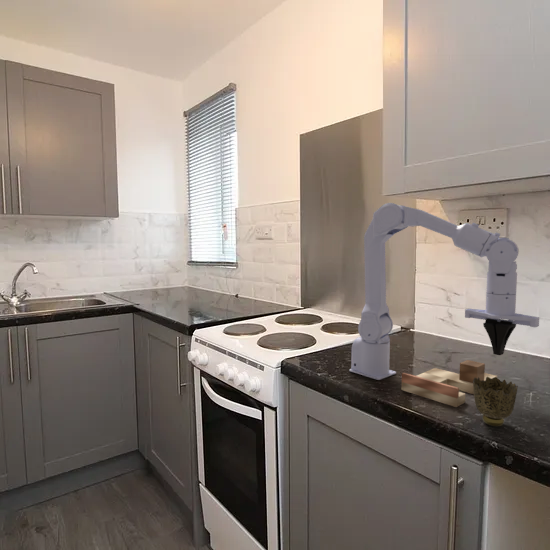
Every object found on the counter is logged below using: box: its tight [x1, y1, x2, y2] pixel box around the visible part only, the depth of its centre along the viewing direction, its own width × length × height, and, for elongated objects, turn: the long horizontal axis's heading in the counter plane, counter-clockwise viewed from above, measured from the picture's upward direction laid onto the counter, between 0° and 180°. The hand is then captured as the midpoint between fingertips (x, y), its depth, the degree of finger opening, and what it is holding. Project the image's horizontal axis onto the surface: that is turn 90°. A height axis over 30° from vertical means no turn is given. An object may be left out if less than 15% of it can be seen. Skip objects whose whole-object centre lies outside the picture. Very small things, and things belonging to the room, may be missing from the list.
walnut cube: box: [459, 359, 486, 383], centre depth 94 cm, size 4×4×4 cm
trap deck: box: [401, 367, 498, 408], centre depth 96 cm, size 13×21×4 cm, turn 130°
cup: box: [473, 376, 518, 427], centre depth 76 cm, size 8×7×8 cm
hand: (498, 354), depth 89 cm, fingers closed
